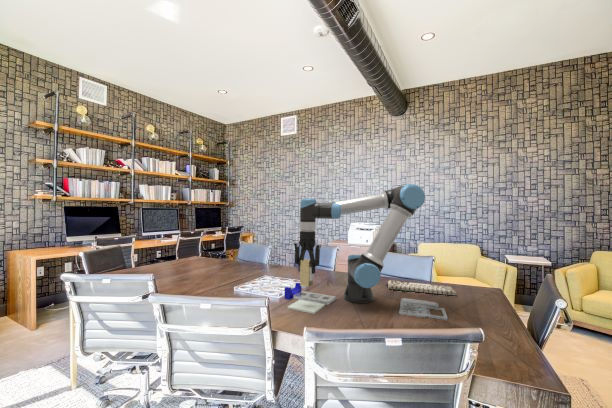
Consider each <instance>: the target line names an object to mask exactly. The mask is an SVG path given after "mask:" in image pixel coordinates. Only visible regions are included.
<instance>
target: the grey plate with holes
mask: <svg viewBox="0 0 612 408" xmlns="http://www.w3.org/2000/svg"><path fill="white" fill-rule="evenodd" d="M292 299H293V300H297V301H298V300H304V301H310V302H315V303H321V304H325V306H330V305H331V304H332V303H333V302H335V301H336V300H337V296H335V295H329V294H323V293H317V292H311V291H305V290H302V291H301V292H299V293H297V294H295V295H293V298H292Z"/></svg>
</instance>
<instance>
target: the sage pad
mask: <svg viewBox="0 0 612 408" xmlns="http://www.w3.org/2000/svg"><path fill="white" fill-rule="evenodd" d="M325 306H326V305H325V304H321V303H315V302H310V301H304V300H298V299H297V300H296V301H295V302H293V303H291V304H289V305H288V306H287V307H286V308H287V309H288V310H293V311H298V312H304V313H307V314H312V315H315V314H316V313H318V312H319V311H321V310H322V309H323V308H324V307H325Z"/></svg>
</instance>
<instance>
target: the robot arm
mask: <svg viewBox="0 0 612 408" xmlns="http://www.w3.org/2000/svg"><path fill="white" fill-rule="evenodd" d="M425 201H426V194H425V191H424V189H423V188H422V187H421V186H419V185H418V184H414V183H407V184H405V185H400V186H397V187H395V188H394V187H393V188H390V189H387V190H383V191H381V193H376V194H372V195H365V196H360V197H355V198H348V199H344V200H338V201H333V202H332V201H331V202H317V199H316V198H305V197H304V198H302V199H301V200H300V205H299V206H300V207H299V210H300V212H299V230H300V231H299V241H298V242H295V243H293V247H294V264H296V265H298V273H300V266H301V260H303V259H305V254H306V252H307V253H308V255H309V256H308V257H309V259H310V261H311V267H310V281H312V280H313V281H314V274H316V267H318V266H320V253H321V247H322V245H321V244H318V243H317V242H316V227H317V225H316V221H317V219H322V220H323V219H326V220H330V219H331V220H339V219H340V218H341V216H343V215H345V216H346V215H350V214H355V213H361V212H367V211H372V210H378V209H385V210H389V211H388V212H389V213H388V214H387V216H386V217H385V219H384V221H383V223H382V224H381V226H380V228H379V229H378V232H377V233H376V235H375V237H374V238H373V240H372V241H371V244H370V246H369V247H368V248H367V251H365V252H362V253H361V254H349V255H348V256H347V284H346V287H345V289H344V291H343V298H344V300H346V301H348V302H349V303H355V304H369V303H371V302H374V293H373V290H372V288H375V286H377V285H378V284H379V283H380V281H381V274H382V273H381V272H382V271H383V268H384V267H385V265H384V260H385V258H386V257H387V254H388V252H389V251H390V249H391V247H393V244H394V242H395V240H396V239H397V237H398V235H399V233H400V232H401V230H402V228H403V227H404V224H406V221H407V219H408V218H411V217H413V216H414V214H415V212H416V211H417V210H418V209H419V208H421V207H422V206H423V205H424V203H425ZM300 247H301V248H300ZM314 248H315V250H314Z"/></svg>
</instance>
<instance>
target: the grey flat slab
mask: <svg viewBox="0 0 612 408" xmlns="http://www.w3.org/2000/svg"><path fill="white" fill-rule="evenodd" d="M399 305H400V306H399V309H398V315H399V314H401V315H400V316H405V315H409V316H408V317H412V316H416V317H415V318H420V317H424V318H423V319H426V318H425V317H429V318H428V319H433V318H436V319H435V320H441V319H442V321H448V315H447V312H446V310H445V308H444V307H440V306H439V303H437V302H436V301H433V300H422V299H414V298H406V297H405V298H400V304H399ZM431 309H435V310H434V311H439V310H441V313H442V315H436V314H431V312H430V311H431Z"/></svg>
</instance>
